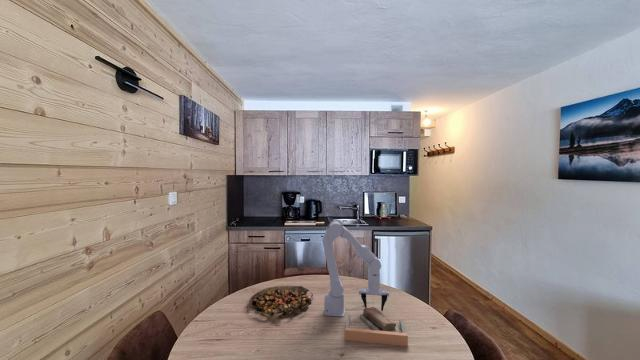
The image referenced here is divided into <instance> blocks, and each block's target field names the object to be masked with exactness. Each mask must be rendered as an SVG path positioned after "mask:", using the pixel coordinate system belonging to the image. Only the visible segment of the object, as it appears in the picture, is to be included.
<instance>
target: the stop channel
mask: <svg viewBox="0 0 640 360" xmlns="http://www.w3.org/2000/svg"><path fill="white" fill-rule="evenodd" d="M346 317H347V318H346V324H345V329H344V340H345V341H348V342H361V343H362V342H363V343H372V344H380V345H382V344H383V345H393V346H399V347H400V346H402V347H408V346H409V341H408V340H409V337H408V336H409V335H408V333H407V331H406V328H405V325H404V321H403V318H399V324H398V325H399V328H400V329H399V330H401V333H400V332H389V331H378V330H372V329H367V328H355V327H351V325H350V324H351V314H347V316H346Z"/></svg>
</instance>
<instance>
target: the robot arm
mask: <svg viewBox="0 0 640 360" xmlns="http://www.w3.org/2000/svg"><path fill="white" fill-rule="evenodd" d="M338 237H340V238H342V239H346V241H347V242H349V243H350V244H351V245H352V246H353V247H354V248H355V250H356V255H358V256H359V258H360V259H361V260H362V261H363V262H364V263H365V264H367V266H368V267H367V268H368V269H367V270H368V271H367V288H360V289H358V295H359V296H360V297H361V301H362V302H363V306H364V309H366V308H368V306H367V295H368V296H381V306H380V312H384V306H386V305H385V304H386V302H387V301H388V298H390V291H389V290H383V289H381V272H380V271H381V268H382V264H381V261H380V260H379V258H378V257H377V255H376V254H375V253H373V252H372V250H371V249H370V247H369V246H368V245H365V244H361V243H360V241H358V239H357V238H356V237H355V236H354V235H353V233H351V232H350V230H349V229H347V227H345V226H344V225H342V224H341V222H340V221H338V220H332V221H331V222H330V223H329V224H328V225H327V226H326V230H325V233H323V236H322V240H321V241H322V246H323V247H322V248H323V253H324V255H325V256H324V257H325V261H326V265H327V269H328V275H329V287H330V288H329V289H330V291H329V292H327V293H325V294H324V301H323V302H324V303H323V304H324V305H323V307H324V313H323V315H324V316H328V317H329V316H330V317H331V316H332V317H339V318H340V317H342V318H343V317H345V312H346V308H345V293H344V292H345V290H344V286H343V280H342V279H341V278H340V275H339V271H338V265H337V260H336V256H335V250H334V245H333V243H334V242H335V240H336V239H337V238H338Z"/></svg>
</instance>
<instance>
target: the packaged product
mask: <svg viewBox="0 0 640 360" xmlns="http://www.w3.org/2000/svg"><path fill="white" fill-rule="evenodd" d="M362 312H363V313H362V314H360V315H359V319H361V320H362V321H363V322H364V323H365V324H366V325H367V326H368V327H369V328H370V330H378V331H389V332H400V333H401V329H399V328H398V327H397V326H396V325H397V324H396V323H395V322H394V321H393V320H392V319H391V318H390V317H388V316H387V315H385V314H384V313H383V311H381V310H379V309H378V308H376V307H374V306H371V307H367V308H366V309H365V308H363V311H362Z"/></svg>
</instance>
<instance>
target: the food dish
mask: <svg viewBox="0 0 640 360" xmlns="http://www.w3.org/2000/svg"><path fill="white" fill-rule="evenodd" d="M308 292H310V293H311V296H310V297H309V296H308V294H307V293H308ZM313 295H314V294H313V292H312V291H310V289H308V288H306V287H304V286H302V285H277V286H271V287H270V286H269V287H267V288H263V289H262V290H260V291H257V292H255V293H254V294H253V295H252V296H251V297H250V299H249V300H248V305H249V307H250V308H249V309H251V310H253V311H254V312H255V313H256V312H257V314H259V313H260V315H262V316H265V317H266V318H267V320H268V321H279V320H283V319H288V318H290V319H293V317H297V316H300V315H302V314H303V313H306V312H307V311H308V309H309V306H310V305H311V304H312V301H313V299H314V296H313Z"/></svg>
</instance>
